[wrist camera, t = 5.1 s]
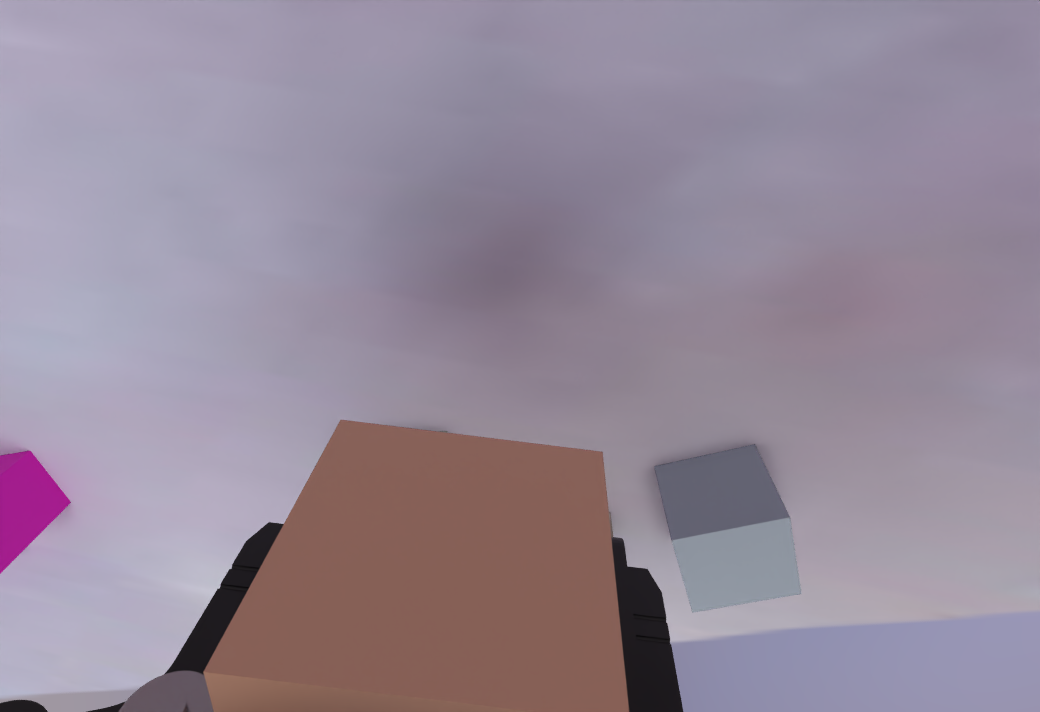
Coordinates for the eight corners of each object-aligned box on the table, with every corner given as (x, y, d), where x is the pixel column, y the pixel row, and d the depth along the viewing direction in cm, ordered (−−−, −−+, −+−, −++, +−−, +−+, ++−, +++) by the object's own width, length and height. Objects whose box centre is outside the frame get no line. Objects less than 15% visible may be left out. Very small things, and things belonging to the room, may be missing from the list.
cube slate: (754, 443, 29) (790, 517, 25) (766, 514, 32) (801, 593, 27) (654, 465, 30) (671, 540, 26) (673, 533, 33) (692, 612, 28)
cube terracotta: (602, 451, 11) (630, 723, 7) (564, 620, 14) (567, 898, 9) (341, 419, 11) (202, 672, 7) (349, 594, 14) (252, 861, 9)
